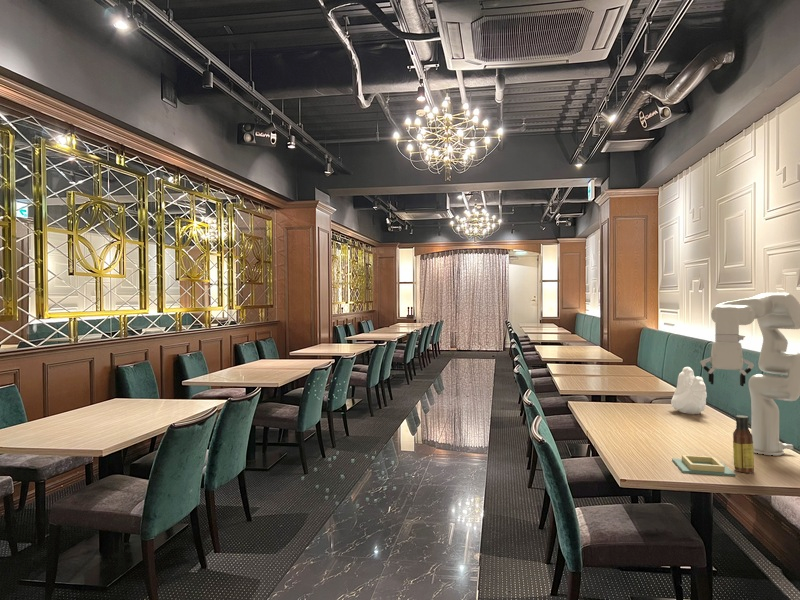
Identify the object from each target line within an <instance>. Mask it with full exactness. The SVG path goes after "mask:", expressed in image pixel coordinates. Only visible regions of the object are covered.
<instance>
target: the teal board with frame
mask: <svg viewBox="0 0 800 600" xmlns="http://www.w3.org/2000/svg"><path fill="white" fill-rule="evenodd" d="M671 459H672V462H673V463H674V465H676V467H677V468H678V469H679V470H680V471H681V473H682V474H694V473H696V475H713V476H722V475H724V477H736V475H737V474H736V473H735V472H734V471H733V470H732V469H730V468H729V467H728V466H727V465H726V464H725V463H723V462H722V461H719V460H718V459H717V458H716V457H714V456H705V455H704V456H703V455H688V454H687V455H686V454H682V455H681V458H671Z"/></svg>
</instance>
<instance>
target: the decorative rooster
mask: <svg viewBox="0 0 800 600" xmlns="http://www.w3.org/2000/svg"><path fill="white" fill-rule="evenodd" d="M676 383H677V384H676V388H675V391H674V392H673V393H674V394H673V396H672V398H671V400H670V402H671V407H672V408H673V409H674V410H676V411H678V412H680V413H683V414H687V415H699V414H701V413H702V412H703V411H705V408H706V404H707V400H706V399H707V397H708V395H707V394H708V393H707V386H706V384H705V382H704V379H703V377H702V376H695V373H694V370H693V368H691V367H690V366H685V367H683V368H682V371H681V372H679V374H678V375H677V382H676Z"/></svg>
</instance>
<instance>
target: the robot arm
mask: <svg viewBox="0 0 800 600" xmlns="http://www.w3.org/2000/svg"><path fill="white" fill-rule="evenodd" d="M710 314H711V315H710V316H711V320H712V321H713V322H714V323H715V335H714V336H715V339H714V340H715V341H713V342H712V345H711V352H710V357H707V358H705V359H702V360H700V362H699V363H700V364H701V367H702V368H703V369H704V370H705V371H706V372H707V373H708V383H710V385H714V384H715V383H714V380H715V379H714V378H715V377H714V376H715V375H714V373H713V372H715V371H716V370H727V371H729V370H730V371H739V373H740V374H739V386H740V387H744V385H745V384H746V376H747V375H748V374H749V373H750V372H751V371H752V369H753V368H754V366H755V364H754V362H751V361H749V360H748V359H746V358H744V355H743V347H742V343H741V342H740V341H744V336H743V335H740V334H739V333H740V326H748V325H751V324H752V323H754V321H755V320H757V324H758V326H759V329H760V332H761V336H762V344H761V349H760V353H759V358H758V364H757V365H758V368H759V370H760V371H761V372H763V373H757V374H753V375H752V376H750V378H749V379H748V389H749V394H750V400H751V401H750V403H751V409H750V412H751V414H750V415H751V416H750V417H751V421H750V422H751V423H750V424H751V425H750V426H751V428H750V429H751V431H750V433H751V434H752V439H753V452H754V454H757V453H758V454H759V455H762V454H764V456H771V455H773V456H775V457H777V456H783V455H784V453H785V452H784V451H785V449H786V450H794V445H793V444H792V443H791V444H789V443H785V442H784V443H782V441H780V409H779V406H778V404H777V403H776V401H775V400H779V401H785V402H794V401H795V402H796V401H797V400H798V399H799V398H800V353H799V352H796V351H787V349H788V344H789V343H788V339H787V337H786V336H785V335H784V334H783V333H782V332H781V331H780V329H781V330H800V302H799V301H798V299H797V298H796V297H795V296H794V295H792V294H791V293H788V292H765V293H759V294H757V295H754V296H752V297H749V298H741V299H736V300H731V301H726V302H724V301H723V302H721V303H718V304H716V305H715V306H714V307H713V308H712V310H711V312H710ZM709 362H710V366H711V367H708V366H707V365H706V364H707V363H709ZM744 364H746V365H748V366H747V368H745V369H743V368H744ZM758 454H757V455H758Z"/></svg>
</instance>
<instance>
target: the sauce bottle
mask: <svg viewBox="0 0 800 600" xmlns="http://www.w3.org/2000/svg"><path fill="white" fill-rule="evenodd" d="M734 419H735V422H736V423H735V424H736V425H735V429H734V431H733V433H732V440H733V441H732V448H733V452H732V453H733V467H734V470H735V471H736V472H739V473H743V474H744V473H745V474H750V473H751V474H752V473H754V471H755V459H754V458H755V457H754V456H755V455H754V454H755V453H754V452H753V439H752V434H751V431H750V429H749V421H750V420H749V416H748V415H738V414H737V415H735V418H734Z"/></svg>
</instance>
